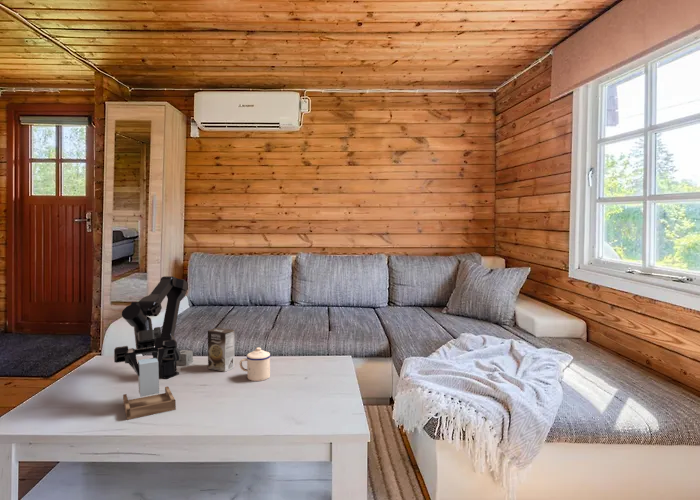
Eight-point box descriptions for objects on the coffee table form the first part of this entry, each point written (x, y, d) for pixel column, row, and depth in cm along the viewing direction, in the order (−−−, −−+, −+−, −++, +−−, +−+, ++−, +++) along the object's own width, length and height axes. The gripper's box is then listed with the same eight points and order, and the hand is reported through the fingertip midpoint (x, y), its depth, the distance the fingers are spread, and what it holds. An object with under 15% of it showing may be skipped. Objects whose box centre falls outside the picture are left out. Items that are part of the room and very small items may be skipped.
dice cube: (182, 361, 187) (182, 350, 187) (192, 362, 186) (192, 350, 186) (175, 365, 182) (175, 353, 182) (186, 365, 181) (186, 354, 181)
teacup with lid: (272, 373, 173) (272, 344, 172) (267, 381, 164) (267, 351, 163) (243, 372, 173) (242, 344, 172) (236, 381, 164) (236, 351, 163)
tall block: (138, 391, 142) (137, 360, 141) (156, 388, 145) (156, 357, 144) (140, 396, 138) (139, 364, 137) (159, 393, 140) (158, 361, 140)
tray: (123, 403, 144) (123, 394, 143) (168, 394, 151) (168, 386, 151) (127, 419, 132) (126, 410, 132) (175, 409, 139) (175, 400, 139)
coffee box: (207, 369, 177) (206, 330, 176) (217, 364, 183) (217, 326, 182) (225, 372, 174) (224, 332, 173) (235, 367, 180) (234, 329, 179)
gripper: (113, 323, 138) (116, 366, 129) (175, 316, 148) (182, 356, 139) (112, 341, 145) (115, 383, 137) (171, 333, 155) (178, 373, 146)
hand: (148, 373), depth 139 cm, fingers closed on tall block, 5 cm apart
